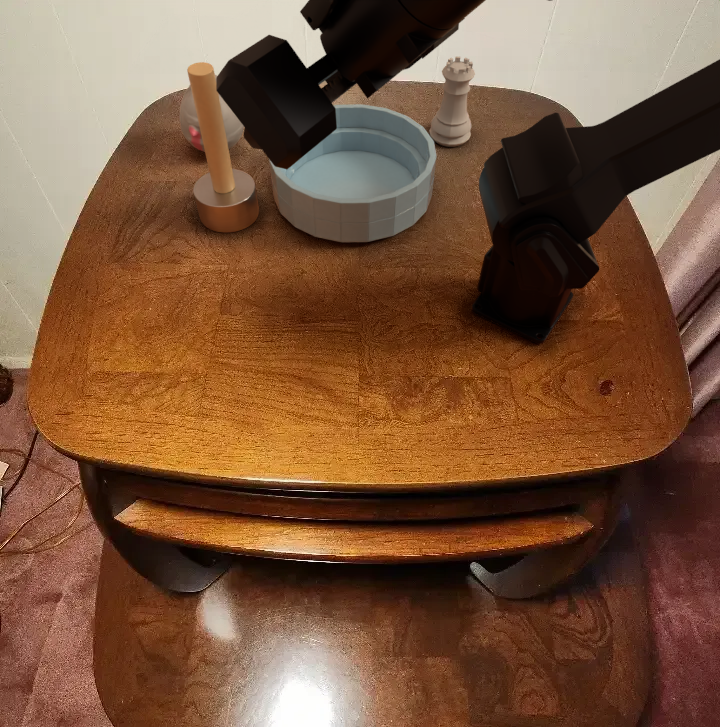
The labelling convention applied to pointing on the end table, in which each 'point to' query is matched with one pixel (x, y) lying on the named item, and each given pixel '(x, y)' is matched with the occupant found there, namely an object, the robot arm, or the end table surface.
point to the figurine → (192, 127)
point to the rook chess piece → (453, 105)
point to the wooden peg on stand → (219, 163)
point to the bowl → (360, 177)
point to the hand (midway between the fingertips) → (290, 110)
